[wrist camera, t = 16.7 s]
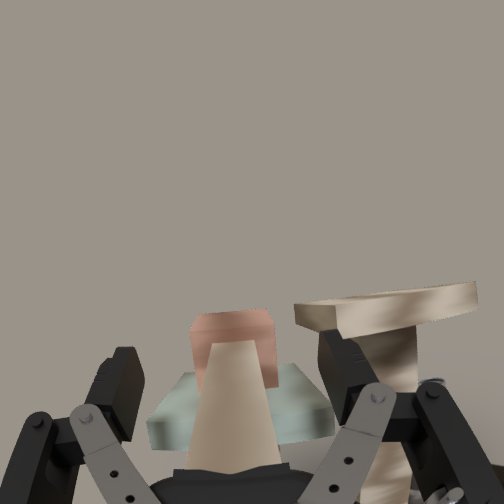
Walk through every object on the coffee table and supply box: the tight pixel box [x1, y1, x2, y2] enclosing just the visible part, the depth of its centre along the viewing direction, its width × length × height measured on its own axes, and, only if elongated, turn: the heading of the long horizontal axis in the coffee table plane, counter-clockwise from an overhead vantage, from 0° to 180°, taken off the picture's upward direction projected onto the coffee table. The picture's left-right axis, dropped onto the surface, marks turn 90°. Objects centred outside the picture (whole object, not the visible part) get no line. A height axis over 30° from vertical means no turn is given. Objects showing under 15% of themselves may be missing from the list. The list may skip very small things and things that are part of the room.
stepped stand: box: [146, 281, 478, 504], centre depth 22 cm, size 22×14×32 cm, turn 92°
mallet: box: [185, 308, 282, 474], centre depth 17 cm, size 6×22×5 cm, turn 2°
